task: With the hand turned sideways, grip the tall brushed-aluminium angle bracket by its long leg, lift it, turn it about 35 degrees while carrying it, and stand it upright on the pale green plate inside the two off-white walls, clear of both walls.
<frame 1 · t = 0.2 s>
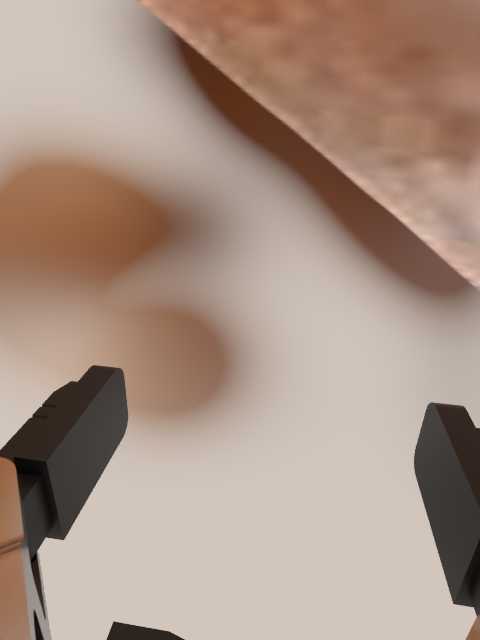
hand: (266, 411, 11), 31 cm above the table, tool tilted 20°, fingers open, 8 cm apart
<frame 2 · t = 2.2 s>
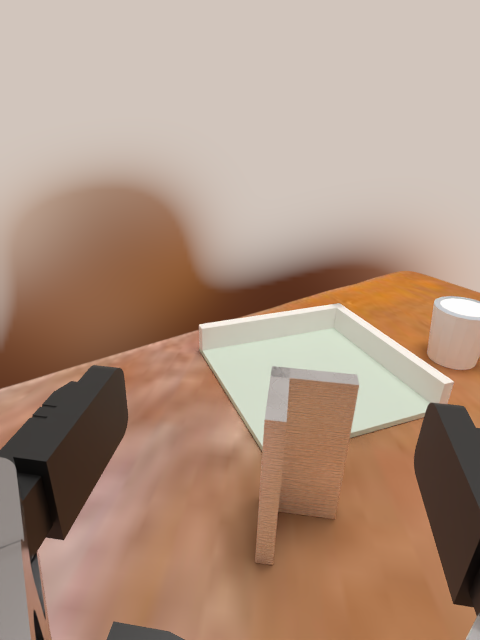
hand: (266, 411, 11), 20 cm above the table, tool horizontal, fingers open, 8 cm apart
arena: (310, 377, 49), on the table
bracket: (297, 532, 31), on the table
white cup: (450, 359, 54), on the table
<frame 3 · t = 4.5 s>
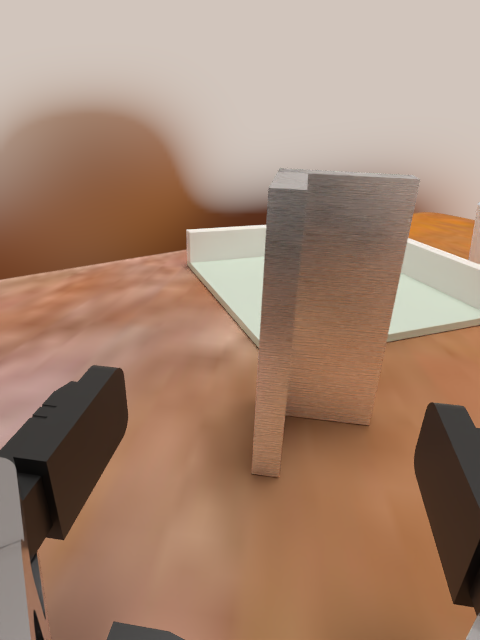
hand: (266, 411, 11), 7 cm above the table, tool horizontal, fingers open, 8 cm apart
arena: (324, 289, 39), on the table
bracket: (314, 439, 21), on the table
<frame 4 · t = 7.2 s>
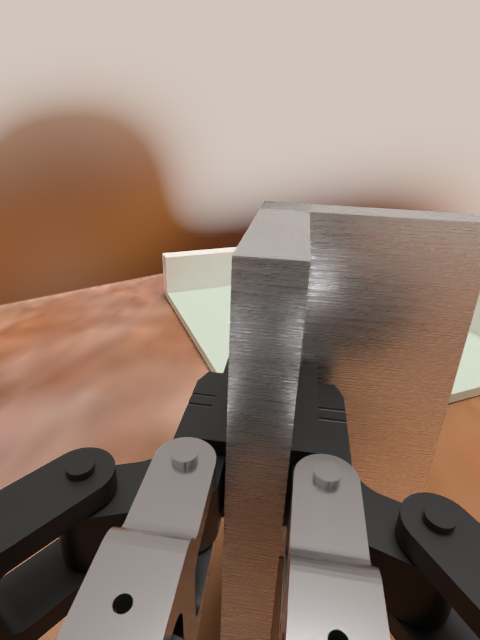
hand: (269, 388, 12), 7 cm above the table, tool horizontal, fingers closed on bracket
arena: (329, 328, 32), on the table
bracket: (320, 606, 14), on the table, touching gripper
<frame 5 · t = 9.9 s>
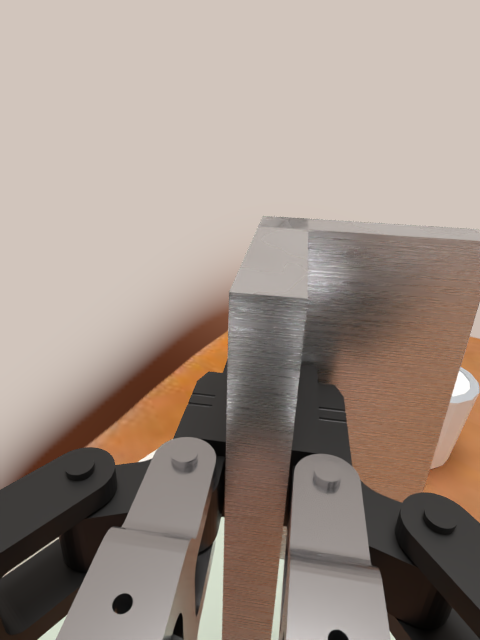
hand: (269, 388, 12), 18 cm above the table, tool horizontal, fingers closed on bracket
arena: (250, 596, 25), on the table
bracket: (319, 609, 14), point 11 cm above the table, touching gripper
white cup: (412, 446, 37), on the table
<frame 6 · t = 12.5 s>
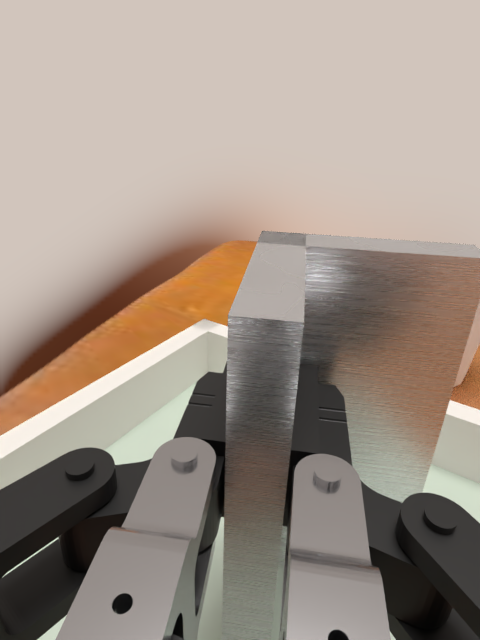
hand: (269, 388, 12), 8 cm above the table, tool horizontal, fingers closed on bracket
arena: (252, 563, 17), on the table
bracket: (317, 616, 14), point 1 cm above the table, touching gripper
white cup: (419, 368, 30), on the table
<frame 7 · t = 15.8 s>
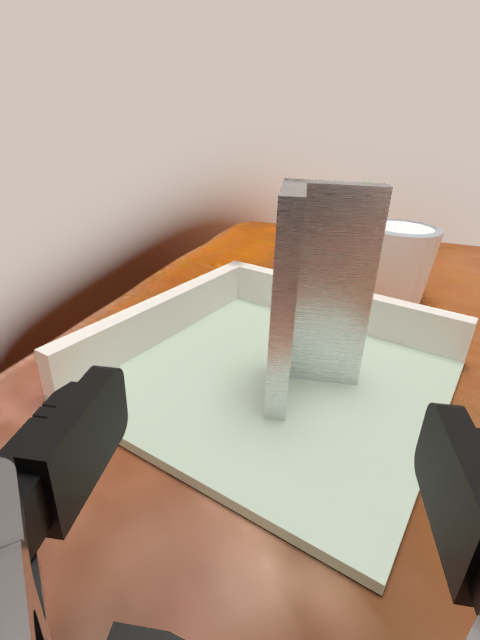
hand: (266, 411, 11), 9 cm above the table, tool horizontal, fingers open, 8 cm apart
arena: (275, 380, 28), on the table
bracket: (313, 394, 26), point 1 cm above the table, touching arena
white cup: (388, 299, 42), on the table
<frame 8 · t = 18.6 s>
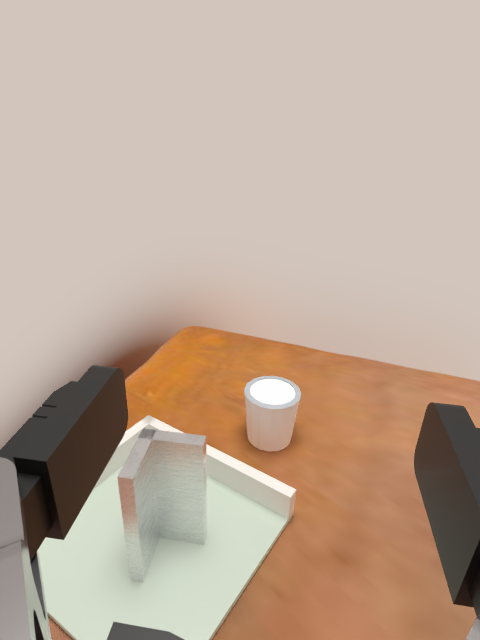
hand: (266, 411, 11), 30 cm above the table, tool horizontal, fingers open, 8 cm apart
arena: (153, 537, 41), on the table
bracket: (170, 555, 39), point 1 cm above the table, touching arena
white cup: (269, 437, 55), on the table
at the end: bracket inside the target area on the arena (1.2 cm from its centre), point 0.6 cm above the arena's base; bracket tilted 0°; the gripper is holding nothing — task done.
